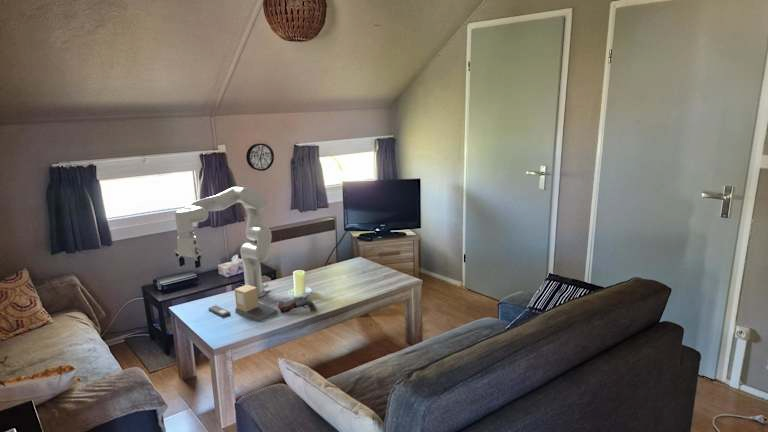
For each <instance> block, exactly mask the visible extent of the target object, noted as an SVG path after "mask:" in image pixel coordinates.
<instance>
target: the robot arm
mask: <svg viewBox="0 0 768 432" xmlns="http://www.w3.org/2000/svg"><path fill="white" fill-rule="evenodd" d="M237 203H241V205H242V206H243V207H244V208H245V210H246V213H247V222H246V228H245V229H246V230H245V237H246V239H248V240H250V241H253V242H250V241H249V242H245V243H244V244H242V245H241V247H240V256H241V260H242V263H243V264H242V266H243V276H244V277H243V278H244V285H250V286H253V287H256V288H257V297H258V298H261V297H264V296H265V295H266V290H265V289H267V288H269V284H268V283H266V284H264V283H263V282H262V281H263V279H262V268H261V267H262V266H261V262H262V263H263V262H265V261H266V260H268V258H269V255H270V252H271V243H272V236H273V235H272V231H271V228H269V226H267V225H263V223H264V213H263V210H265V209H266V208H267V206H268V199H267V198H266V196H265V195H264V194H263V193H262V194H261V193H259V192H257V191H255V190H253V189H251V188H248V187H242V186H238V185H237V186H232V187H230V188H227V189H226V190H224V191H222V192H219V193H218V194H216V195H212V196H209V197H205V198H201V199H198V200H195V201H194V202H193V201H192V203H189V204H188V205H186V206H184V208H182V209H178V210H177V211H175V213H174V216H175V217H174V218H175V223H176V231H177V241H176V242H177V243H176V246H177V247H176V248H175V249H173V253H175V257H176V258H177V259H178V263H179V267H183V266H185V265H186V261H185V257H190V258H193V259H194V265H195V269H198V268H200V267H201V260H202V258H203V256H204V251H203V250H201V249H200V245H199V242H198V239H197V237H196V232H195V231H194V230H195V229H194V223H201V222H202V223H203V222H204V221H206V220H208V218H209V212H218V211H219V212H220V211H224V210H225V209H227V208H229V207H231V206H233V205H235V204H237ZM255 242H256V243H255Z"/></svg>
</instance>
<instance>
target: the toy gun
mask: <svg viewBox="0 0 768 432" xmlns="http://www.w3.org/2000/svg"><path fill="white" fill-rule="evenodd" d="M302 307H303V308H304V309H309V312H317V310H318V307H317V305H316V304H315V303H314V301H312V299H310V298H308V296H306V297H305V296H298V297H294V298H291V299H286V300H278V303H277V308H278V310H279V311H280V313H281V314H284V313H287V312H290V311H292V310H295V309H298V308H302Z"/></svg>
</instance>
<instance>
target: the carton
mask: <svg viewBox="0 0 768 432" xmlns="http://www.w3.org/2000/svg"><path fill="white" fill-rule="evenodd" d="M234 295H235V304H236V305H235V306H236V307H235V308H237V309H240V310H243V311H245V312H247V311H250V310H252V309H254V308H256V307H258V303H259V299H258V297H257V288H256V287H253V286H250V285H245V284H244V285H242V286H239V287H237V288H235V289H234Z"/></svg>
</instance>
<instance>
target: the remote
mask: <svg viewBox="0 0 768 432" xmlns="http://www.w3.org/2000/svg"><path fill="white" fill-rule="evenodd" d="M208 311H209V312H212V313H213V314H215V315H217V316H219V317H221V318H225V317H228V316H231V312H230V311H228V310H227V309H224V308H222V307H220V306H218V305H216V304H215V305H213V306H211V307H208Z"/></svg>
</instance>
